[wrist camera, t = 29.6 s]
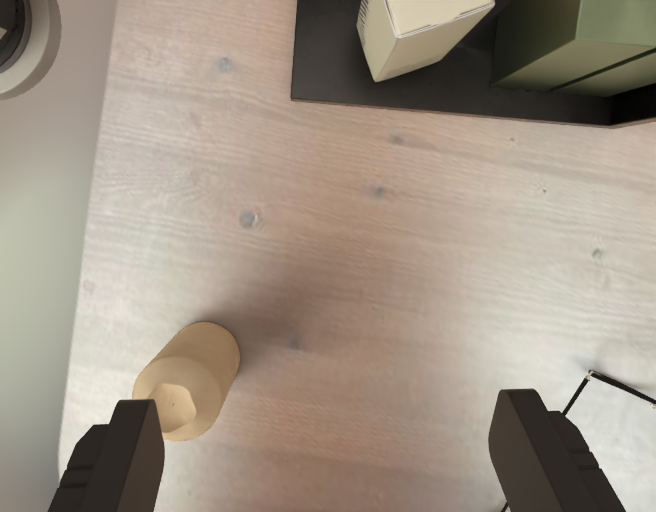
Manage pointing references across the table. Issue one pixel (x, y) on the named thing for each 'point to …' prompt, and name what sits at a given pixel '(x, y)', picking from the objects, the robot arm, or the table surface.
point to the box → (414, 31)
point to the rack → (496, 64)
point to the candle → (190, 379)
